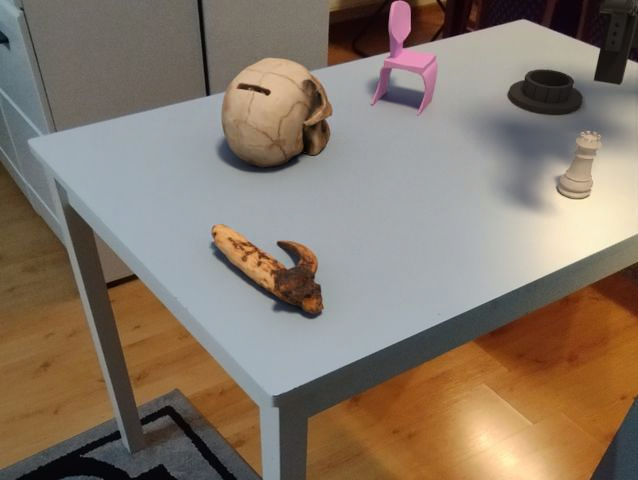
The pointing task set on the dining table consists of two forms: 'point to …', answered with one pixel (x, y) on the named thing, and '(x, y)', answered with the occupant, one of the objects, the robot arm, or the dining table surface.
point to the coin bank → (275, 113)
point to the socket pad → (544, 106)
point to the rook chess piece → (580, 167)
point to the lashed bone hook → (274, 268)
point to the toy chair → (406, 55)
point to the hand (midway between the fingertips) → (626, 64)
